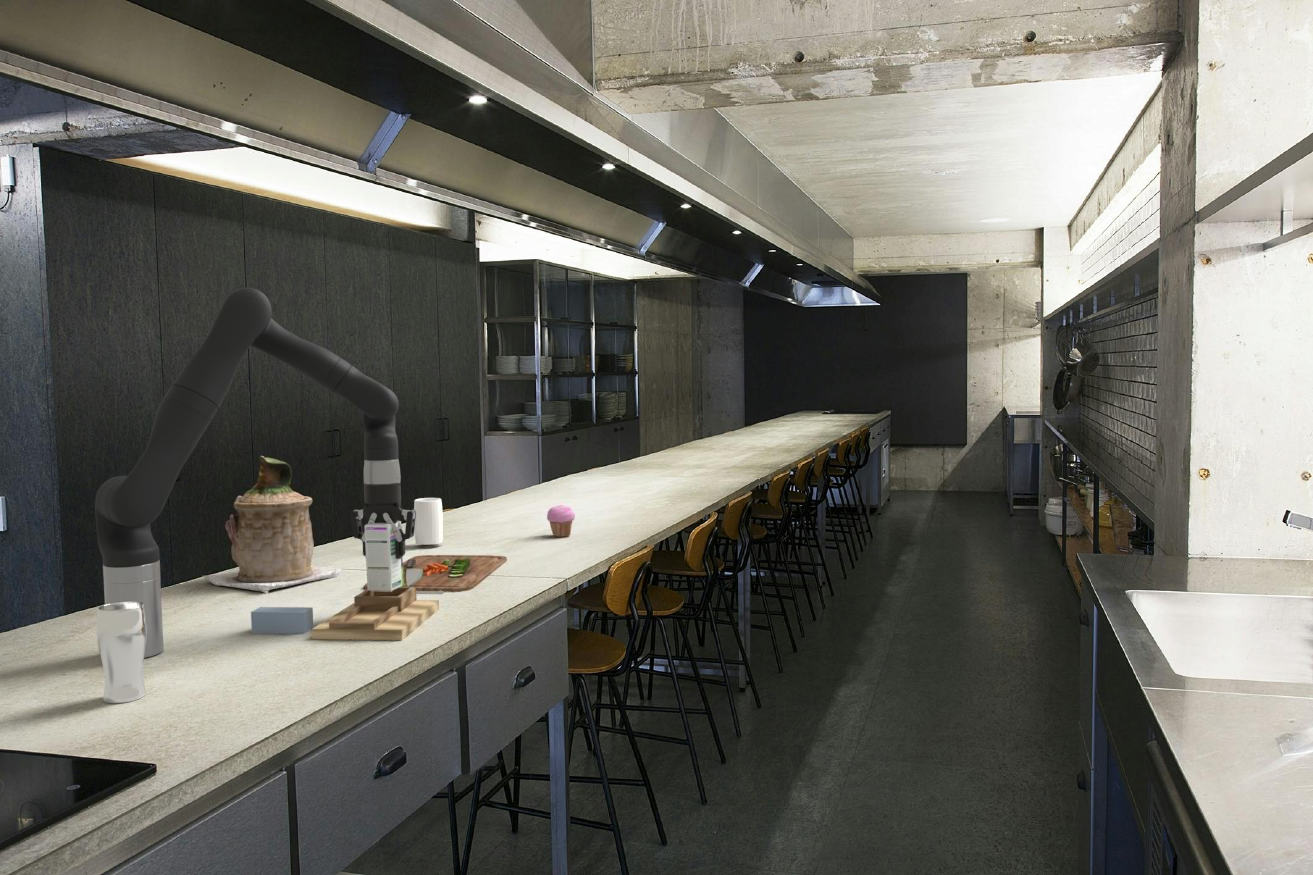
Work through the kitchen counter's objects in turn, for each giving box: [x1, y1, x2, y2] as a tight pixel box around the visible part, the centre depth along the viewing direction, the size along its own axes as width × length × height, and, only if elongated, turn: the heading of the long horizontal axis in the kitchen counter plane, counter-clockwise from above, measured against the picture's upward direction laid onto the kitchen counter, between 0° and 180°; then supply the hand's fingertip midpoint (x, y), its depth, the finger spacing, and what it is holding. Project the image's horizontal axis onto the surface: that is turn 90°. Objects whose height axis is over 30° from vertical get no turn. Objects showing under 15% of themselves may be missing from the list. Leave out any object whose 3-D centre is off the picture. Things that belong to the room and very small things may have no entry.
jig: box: [311, 587, 440, 641], centre depth 197 cm, size 24×18×5 cm
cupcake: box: [546, 504, 576, 538], centre depth 299 cm, size 9×9×10 cm
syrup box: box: [364, 520, 404, 592], centre depth 203 cm, size 6×6×14 cm
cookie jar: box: [201, 455, 342, 594], centre depth 239 cm, size 25×25×32 cm
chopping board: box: [363, 554, 508, 595], centre depth 246 cm, size 45×27×3 cm, turn 175°
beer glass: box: [96, 601, 147, 704], centre depth 152 cm, size 7×7×15 cm
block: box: [250, 606, 314, 634], centre depth 192 cm, size 11×4×4 cm, turn 86°
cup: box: [413, 497, 444, 545], centre depth 284 cm, size 8×8×14 cm
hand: (384, 557), depth 203 cm, fingers closed on syrup box, 6 cm apart
